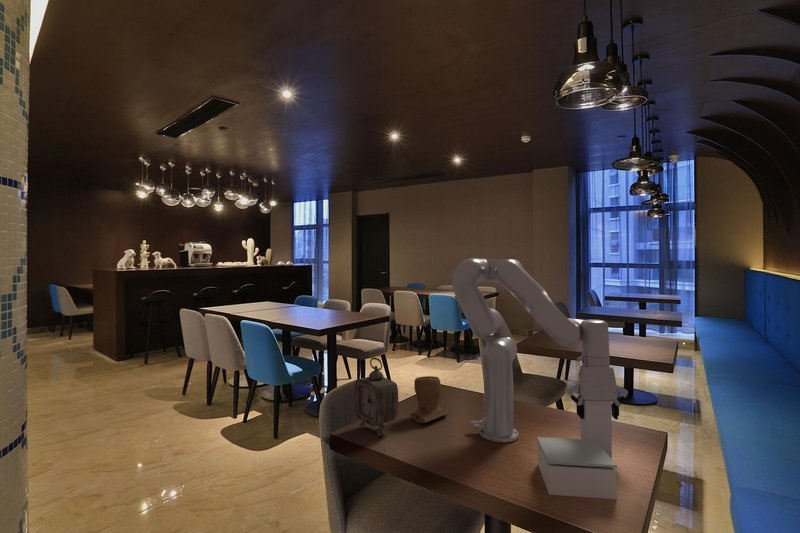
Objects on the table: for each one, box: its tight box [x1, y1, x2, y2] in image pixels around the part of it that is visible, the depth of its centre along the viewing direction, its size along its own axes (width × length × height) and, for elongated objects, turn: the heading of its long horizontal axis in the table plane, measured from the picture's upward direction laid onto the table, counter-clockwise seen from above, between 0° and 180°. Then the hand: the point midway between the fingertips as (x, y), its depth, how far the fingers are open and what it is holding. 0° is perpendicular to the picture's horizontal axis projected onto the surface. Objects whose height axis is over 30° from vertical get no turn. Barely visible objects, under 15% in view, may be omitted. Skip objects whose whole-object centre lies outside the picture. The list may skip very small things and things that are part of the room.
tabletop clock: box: [354, 357, 400, 437], centre depth 143 cm, size 14×9×25 cm, turn 38°
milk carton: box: [580, 400, 613, 457], centre depth 126 cm, size 7×7×19 cm
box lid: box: [536, 436, 618, 469], centre depth 109 cm, size 16×16×1 cm
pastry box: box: [537, 441, 618, 500], centre depth 109 cm, size 16×16×7 cm
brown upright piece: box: [409, 375, 449, 424], centre depth 155 cm, size 15×12×15 cm
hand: (597, 417), depth 126 cm, fingers open, 9 cm apart
